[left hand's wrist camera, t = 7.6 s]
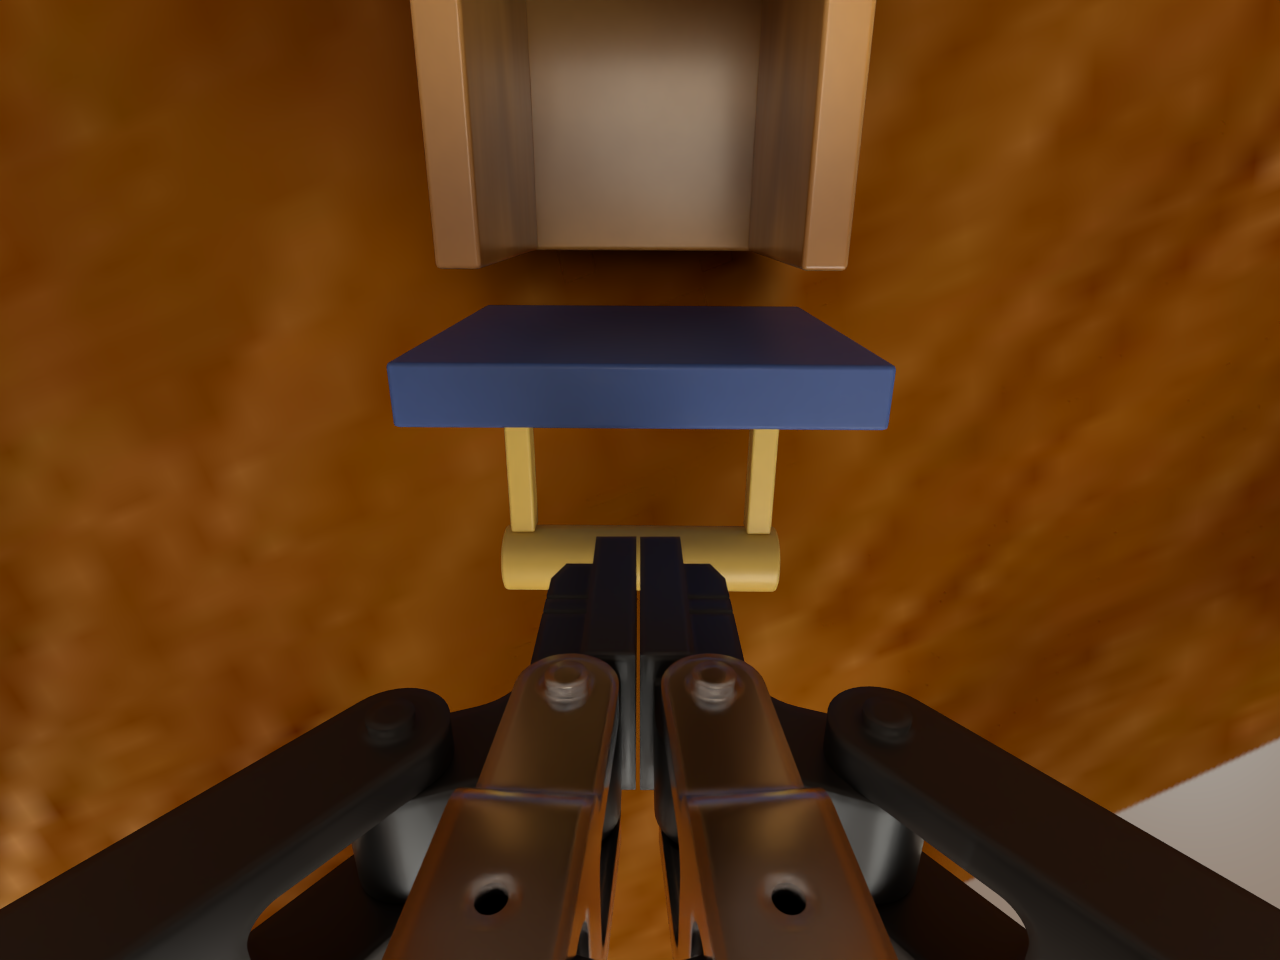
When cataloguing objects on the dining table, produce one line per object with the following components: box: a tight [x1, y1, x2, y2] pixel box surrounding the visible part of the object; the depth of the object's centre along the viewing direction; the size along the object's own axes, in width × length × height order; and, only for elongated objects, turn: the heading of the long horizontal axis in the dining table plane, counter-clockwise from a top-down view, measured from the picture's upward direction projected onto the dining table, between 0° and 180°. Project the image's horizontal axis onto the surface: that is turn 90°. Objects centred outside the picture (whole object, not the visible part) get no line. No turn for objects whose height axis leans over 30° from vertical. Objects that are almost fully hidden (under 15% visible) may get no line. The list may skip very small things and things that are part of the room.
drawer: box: [387, 0, 896, 591], centre depth 14 cm, size 23×9×8 cm, turn 0°
